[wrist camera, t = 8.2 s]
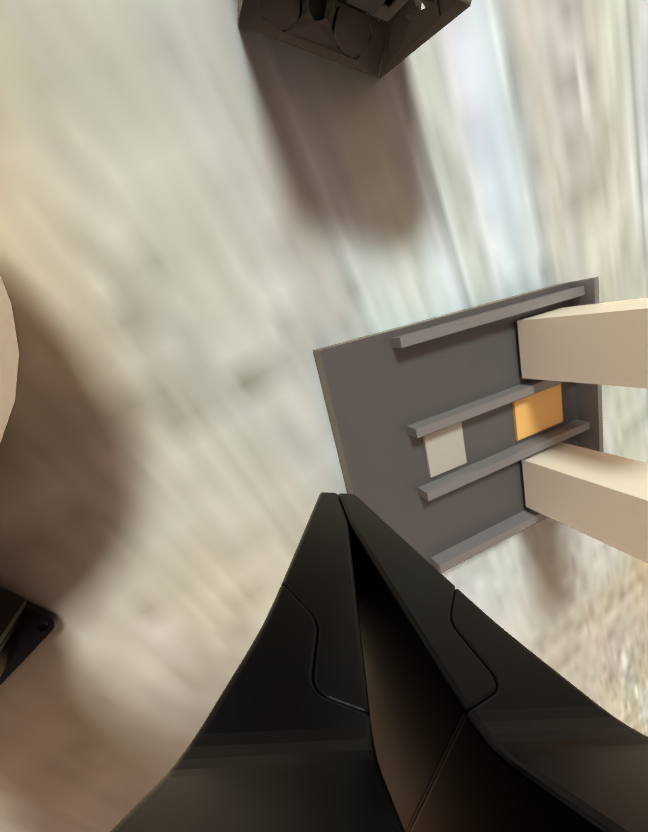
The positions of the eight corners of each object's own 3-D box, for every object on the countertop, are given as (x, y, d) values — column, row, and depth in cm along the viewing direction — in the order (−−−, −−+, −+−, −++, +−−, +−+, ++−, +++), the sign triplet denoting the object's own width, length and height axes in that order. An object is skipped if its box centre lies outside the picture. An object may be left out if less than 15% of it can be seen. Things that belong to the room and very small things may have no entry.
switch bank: (370, 586, 25) (390, 613, 22) (313, 350, 21) (330, 350, 18) (570, 485, 31) (604, 498, 28) (558, 284, 26) (598, 276, 24)
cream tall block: (526, 506, 27) (727, 599, 17) (521, 459, 26) (732, 528, 16) (563, 488, 28) (772, 564, 18) (560, 442, 27) (780, 495, 17)
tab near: (522, 378, 25) (753, 396, 15) (517, 320, 24) (761, 297, 13) (562, 363, 26) (803, 371, 16) (559, 307, 25) (814, 277, 15)
